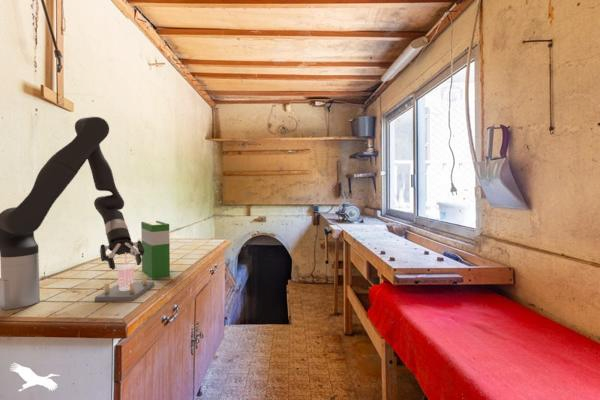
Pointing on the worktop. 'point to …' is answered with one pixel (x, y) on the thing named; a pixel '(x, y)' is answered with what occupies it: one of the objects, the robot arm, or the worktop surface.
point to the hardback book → (155, 249)
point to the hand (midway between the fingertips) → (126, 266)
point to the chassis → (128, 295)
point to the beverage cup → (125, 275)
